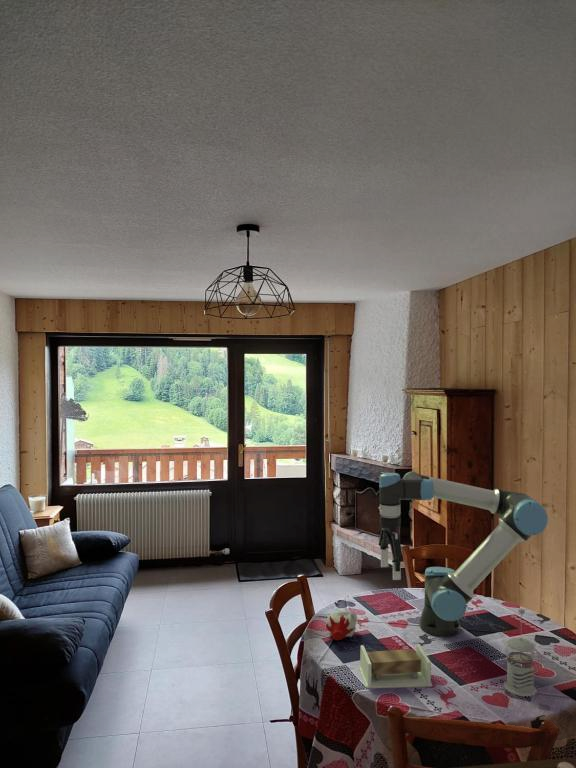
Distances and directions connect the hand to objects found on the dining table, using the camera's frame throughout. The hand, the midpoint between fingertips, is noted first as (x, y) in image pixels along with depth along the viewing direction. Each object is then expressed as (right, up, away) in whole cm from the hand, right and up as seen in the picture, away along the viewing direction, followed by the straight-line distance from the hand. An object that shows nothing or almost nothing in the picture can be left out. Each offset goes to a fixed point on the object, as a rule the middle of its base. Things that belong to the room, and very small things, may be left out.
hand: (390, 573), depth 203 cm
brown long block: (-4, -22, -25) cm, 33 cm away
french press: (+36, -26, -30) cm, 54 cm away
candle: (-18, -25, +3) cm, 31 cm away
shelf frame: (-3, -25, -24) cm, 35 cm away
